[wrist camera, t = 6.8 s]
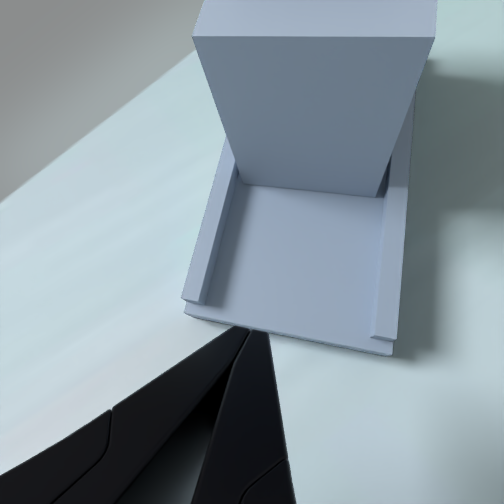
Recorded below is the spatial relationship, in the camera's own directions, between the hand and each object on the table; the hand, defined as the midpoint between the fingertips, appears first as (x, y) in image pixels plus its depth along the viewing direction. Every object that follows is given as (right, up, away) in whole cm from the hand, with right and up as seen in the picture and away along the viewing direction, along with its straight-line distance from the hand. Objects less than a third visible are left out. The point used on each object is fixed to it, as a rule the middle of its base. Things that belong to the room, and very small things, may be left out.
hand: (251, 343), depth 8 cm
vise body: (+3, +7, +10) cm, 13 cm away
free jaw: (+3, +6, +9) cm, 11 cm away
